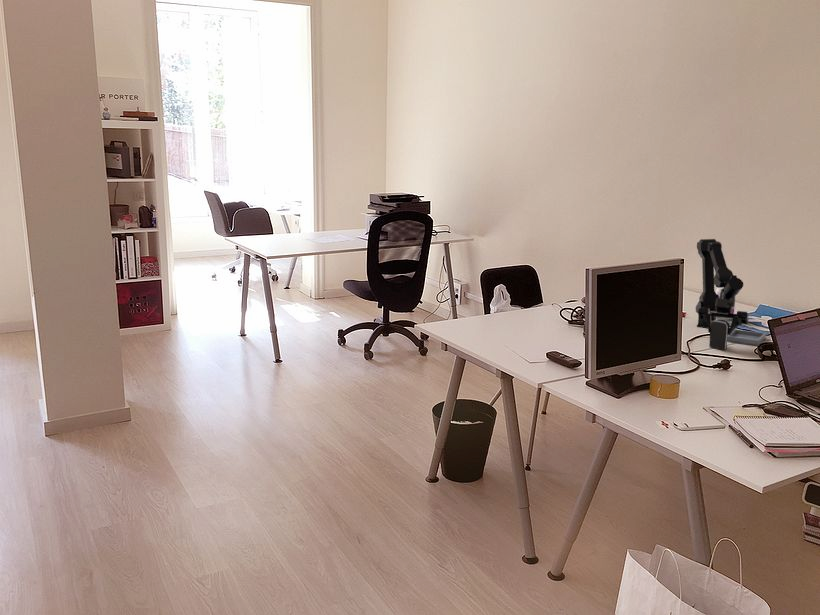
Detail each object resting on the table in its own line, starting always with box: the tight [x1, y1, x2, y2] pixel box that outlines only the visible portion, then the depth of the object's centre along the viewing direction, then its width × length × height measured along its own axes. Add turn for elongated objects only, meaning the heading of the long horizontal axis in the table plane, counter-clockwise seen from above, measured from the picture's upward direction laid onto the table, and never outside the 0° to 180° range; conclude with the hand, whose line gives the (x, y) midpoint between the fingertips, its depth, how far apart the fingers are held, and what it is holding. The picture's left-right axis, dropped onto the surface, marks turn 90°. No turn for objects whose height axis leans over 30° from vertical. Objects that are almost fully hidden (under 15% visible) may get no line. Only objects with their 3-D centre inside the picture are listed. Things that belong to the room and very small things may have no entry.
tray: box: [727, 328, 767, 347], centre depth 291 cm, size 12×12×2 cm
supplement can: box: [715, 287, 736, 321], centre depth 322 cm, size 8×8×15 cm
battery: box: [708, 319, 731, 351], centre depth 280 cm, size 7×4×11 cm, turn 37°
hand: (718, 333), depth 279 cm, fingers closed on battery, 7 cm apart
